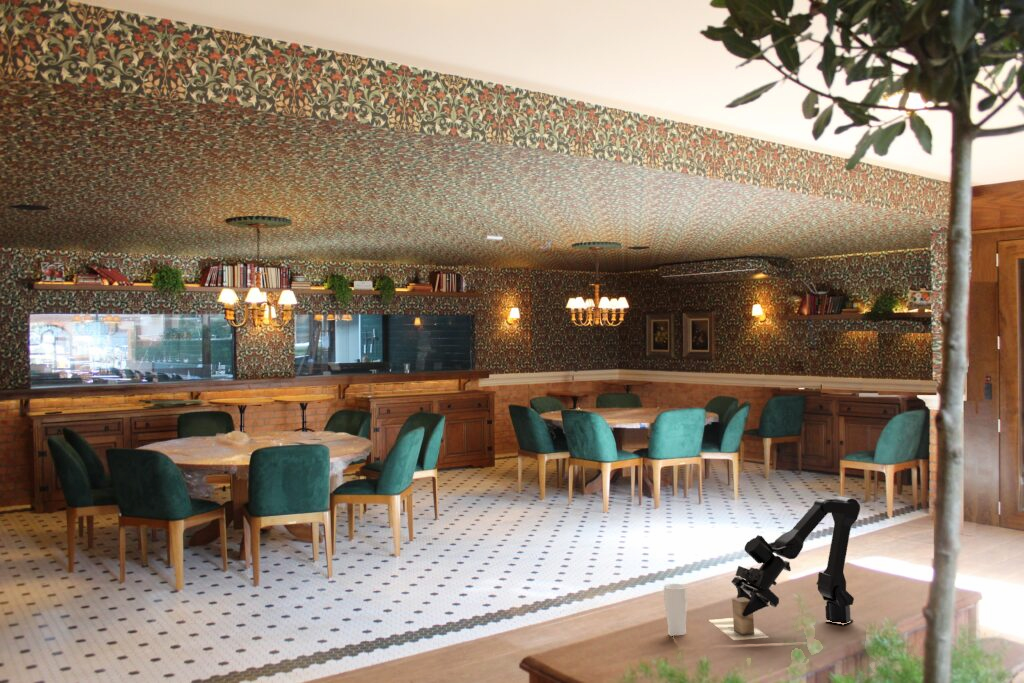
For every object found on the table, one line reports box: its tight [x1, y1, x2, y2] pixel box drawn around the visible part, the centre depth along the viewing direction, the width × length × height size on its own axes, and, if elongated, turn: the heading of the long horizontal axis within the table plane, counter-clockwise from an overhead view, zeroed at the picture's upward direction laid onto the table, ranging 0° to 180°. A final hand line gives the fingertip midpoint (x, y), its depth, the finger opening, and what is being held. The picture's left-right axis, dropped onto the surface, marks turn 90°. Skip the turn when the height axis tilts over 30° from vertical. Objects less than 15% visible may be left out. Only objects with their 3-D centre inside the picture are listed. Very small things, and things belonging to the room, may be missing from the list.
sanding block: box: [731, 597, 755, 636], centre depth 260 cm, size 4×5×10 cm
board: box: [708, 617, 770, 641], centre depth 265 cm, size 22×11×1 cm, turn 7°
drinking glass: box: [663, 583, 688, 638], centre depth 263 cm, size 7×7×15 cm
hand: (738, 613), depth 260 cm, fingers closed on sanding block, 5 cm apart
